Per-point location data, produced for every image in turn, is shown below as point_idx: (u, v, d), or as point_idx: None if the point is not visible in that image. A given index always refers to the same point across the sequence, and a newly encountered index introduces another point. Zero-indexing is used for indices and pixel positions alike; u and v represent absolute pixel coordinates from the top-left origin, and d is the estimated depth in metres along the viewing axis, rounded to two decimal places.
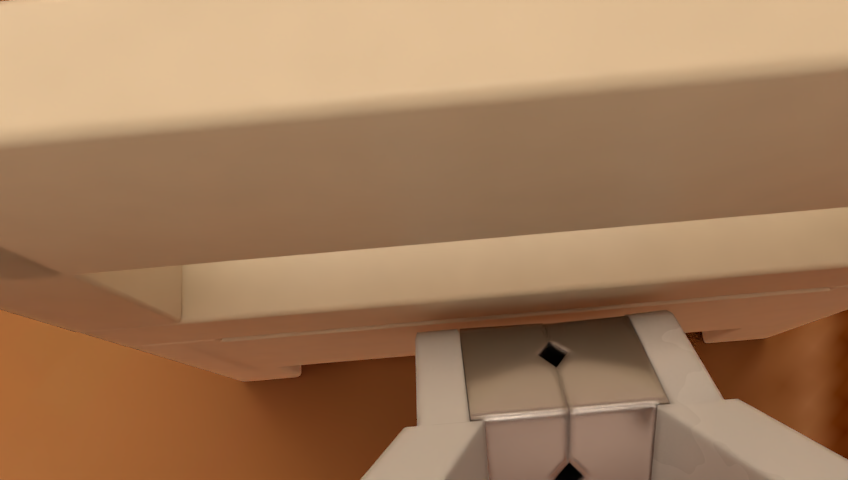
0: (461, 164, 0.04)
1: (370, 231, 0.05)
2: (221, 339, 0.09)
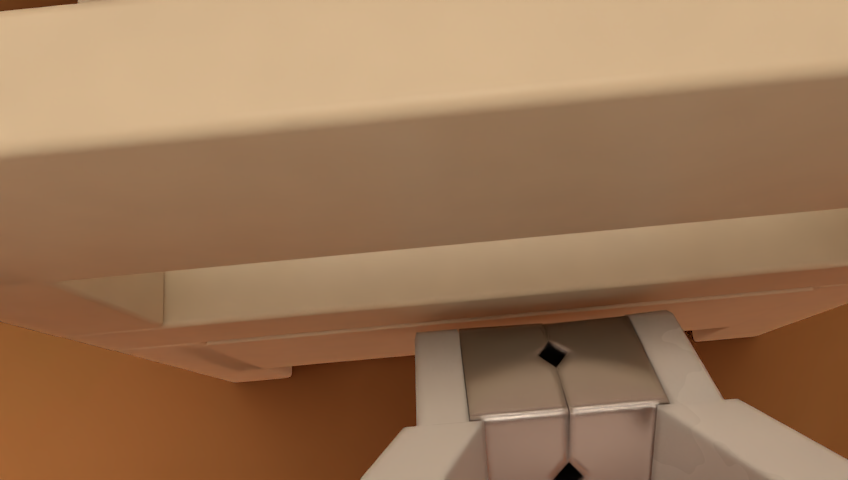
0: (424, 173, 0.04)
1: (340, 238, 0.05)
2: (206, 342, 0.09)
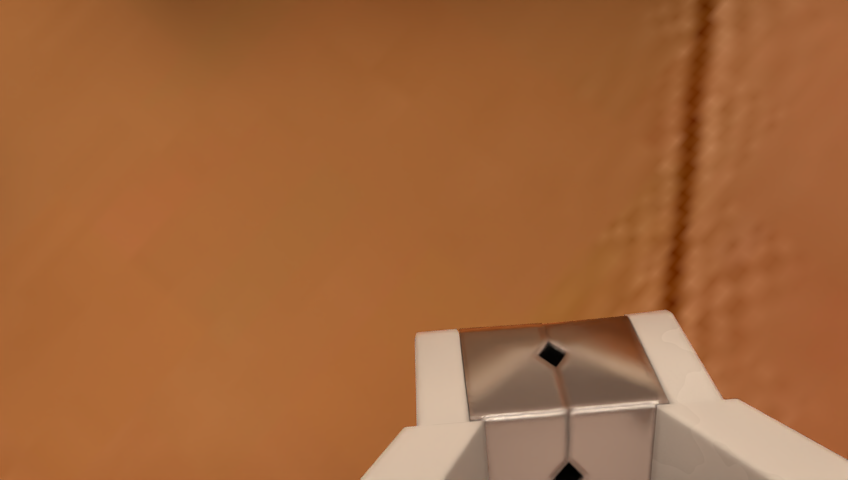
0: None
1: None
2: None
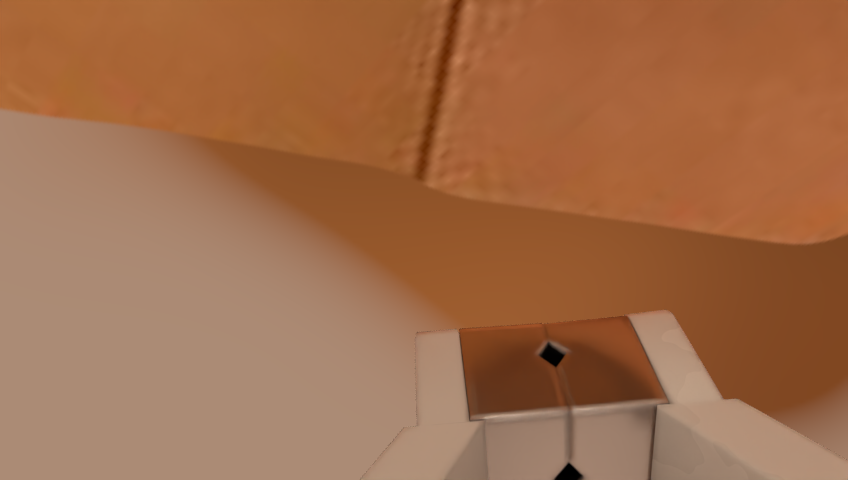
0: None
1: None
2: None
